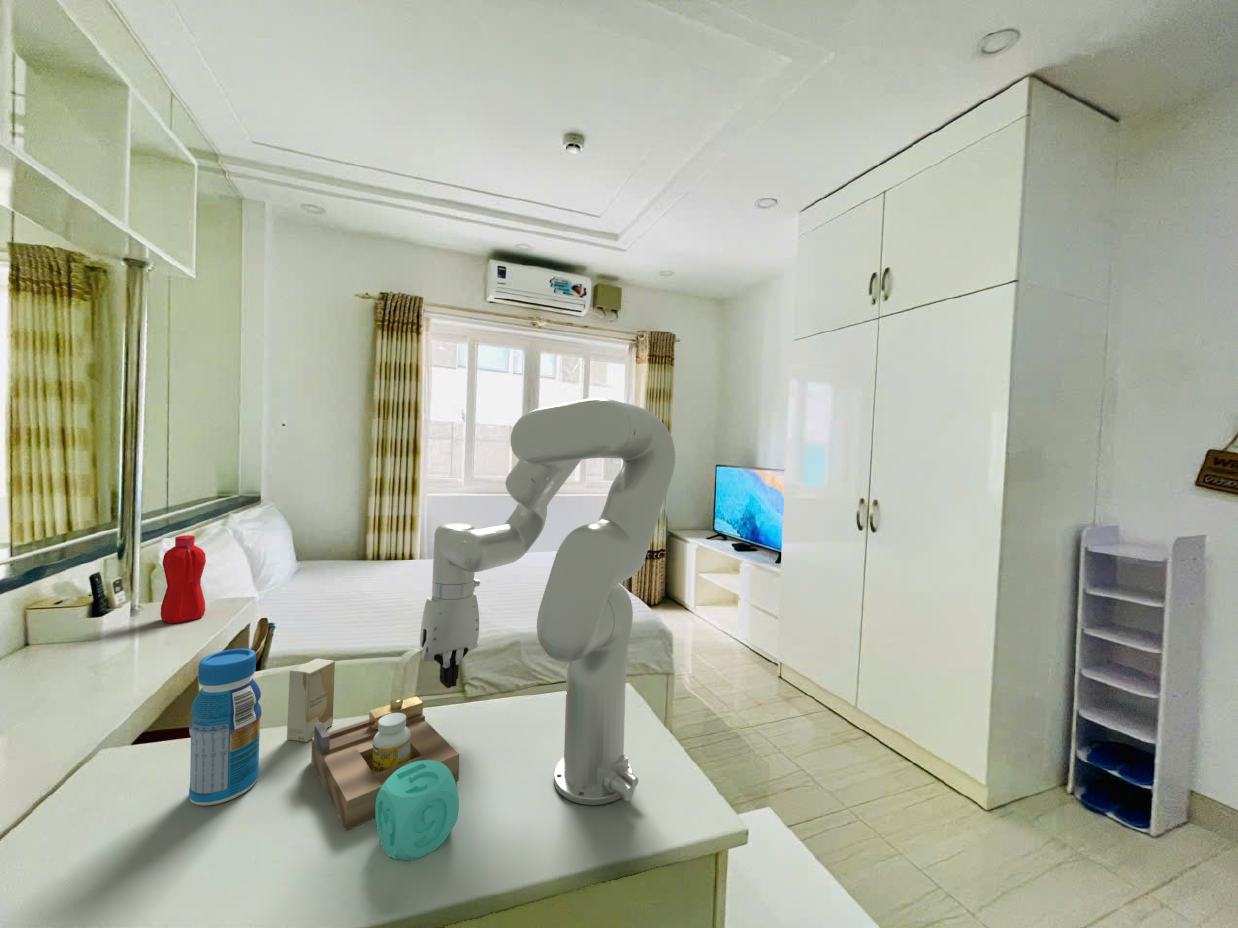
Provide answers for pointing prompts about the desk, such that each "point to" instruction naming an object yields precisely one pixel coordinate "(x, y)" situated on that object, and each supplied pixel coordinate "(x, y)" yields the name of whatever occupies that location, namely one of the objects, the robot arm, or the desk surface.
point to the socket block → (368, 764)
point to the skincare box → (310, 698)
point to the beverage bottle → (225, 728)
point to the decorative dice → (416, 809)
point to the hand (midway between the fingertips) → (448, 684)
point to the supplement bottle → (391, 742)
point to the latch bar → (397, 710)
